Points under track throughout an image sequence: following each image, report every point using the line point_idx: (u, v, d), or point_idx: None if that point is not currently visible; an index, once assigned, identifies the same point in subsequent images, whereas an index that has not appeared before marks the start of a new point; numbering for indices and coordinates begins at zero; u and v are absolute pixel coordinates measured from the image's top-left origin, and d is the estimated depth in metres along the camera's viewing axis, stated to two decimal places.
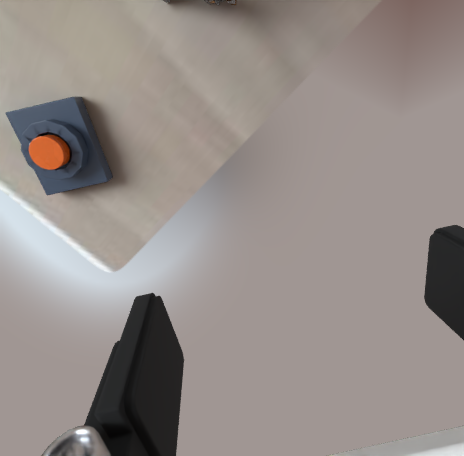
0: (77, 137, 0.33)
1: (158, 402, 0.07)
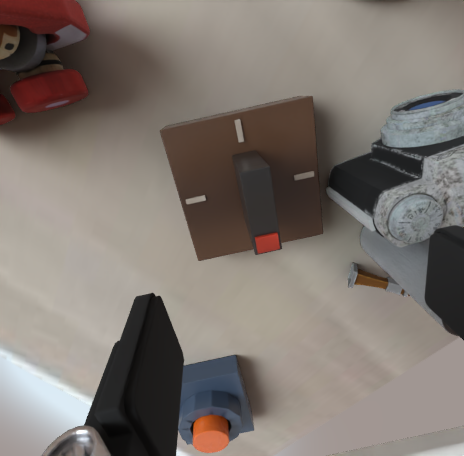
0: (239, 414, 0.30)
1: (158, 402, 0.07)
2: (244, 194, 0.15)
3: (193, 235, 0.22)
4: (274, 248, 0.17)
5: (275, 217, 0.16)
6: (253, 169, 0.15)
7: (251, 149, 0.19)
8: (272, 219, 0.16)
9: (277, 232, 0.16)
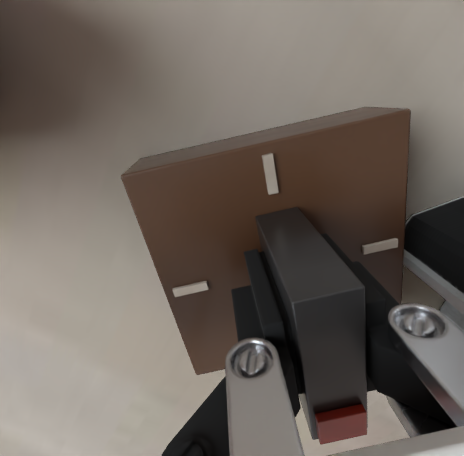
0: None
1: None
2: (299, 342, 0.07)
3: (187, 340, 0.13)
4: (356, 435, 0.08)
5: (363, 379, 0.07)
6: (324, 292, 0.06)
7: (290, 205, 0.11)
8: (355, 383, 0.07)
9: (363, 404, 0.08)
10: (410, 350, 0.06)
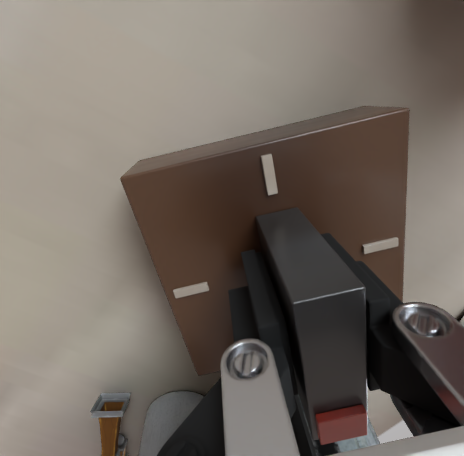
0: None
1: None
2: (299, 342, 0.07)
3: (186, 167, 0.10)
4: (356, 436, 0.08)
5: (363, 380, 0.07)
6: (324, 293, 0.06)
7: None
8: (356, 383, 0.07)
9: (364, 405, 0.08)
10: (414, 349, 0.06)
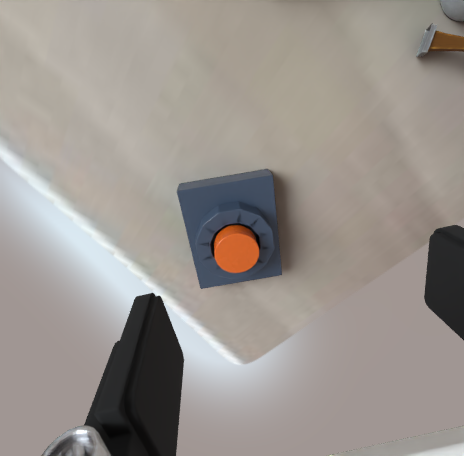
0: (271, 229, 0.24)
1: (158, 402, 0.07)
2: None
3: None
4: None
5: None
6: None
7: None
8: None
9: None
10: None
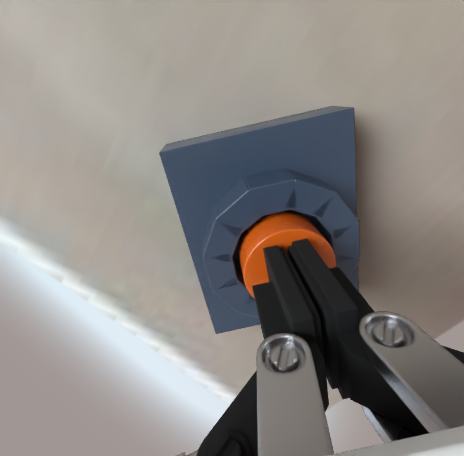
0: None
1: None
2: None
3: None
4: None
5: None
6: None
7: None
8: None
9: None
10: (383, 362, 0.06)
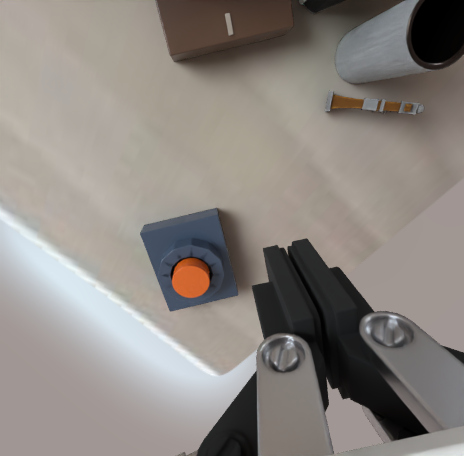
0: (220, 259, 0.29)
1: None
2: None
3: (163, 21, 0.22)
4: None
5: None
6: None
7: None
8: None
9: None
10: (383, 362, 0.06)
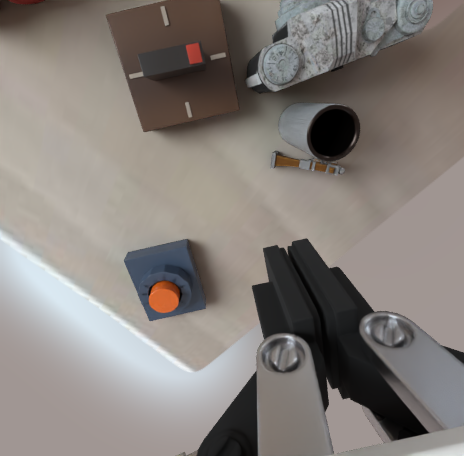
0: (188, 282, 0.36)
1: None
2: (158, 73, 0.23)
3: (137, 108, 0.28)
4: (198, 47, 0.22)
5: (174, 47, 0.22)
6: (141, 66, 0.23)
7: (175, 32, 0.26)
8: (175, 50, 0.22)
9: (186, 45, 0.22)
10: (383, 362, 0.06)
